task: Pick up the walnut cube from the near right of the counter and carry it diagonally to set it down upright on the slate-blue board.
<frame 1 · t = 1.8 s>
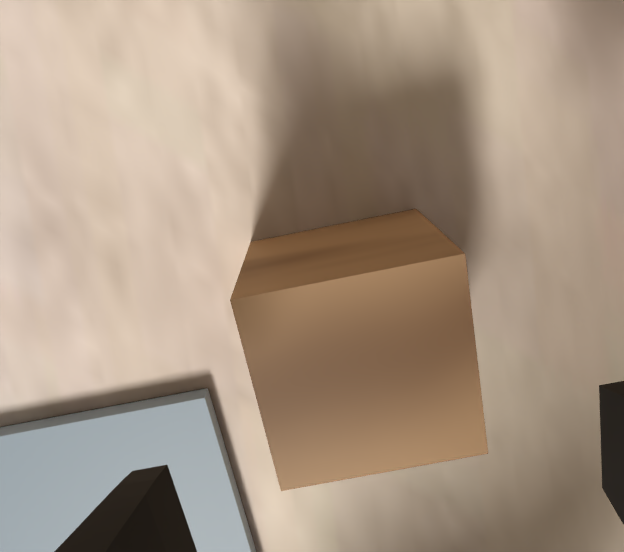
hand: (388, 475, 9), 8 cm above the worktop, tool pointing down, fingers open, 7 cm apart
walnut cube: (347, 301, 17), on the worktop
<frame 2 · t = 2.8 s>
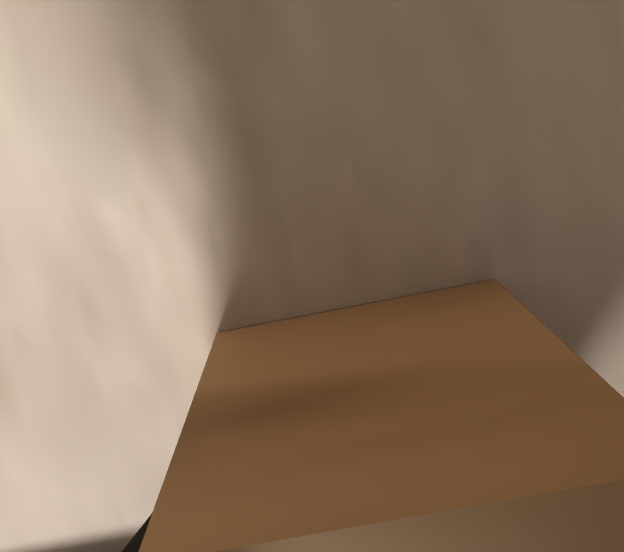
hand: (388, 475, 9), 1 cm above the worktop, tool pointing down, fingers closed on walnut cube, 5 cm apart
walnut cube: (376, 425, 10), on the worktop, touching gripper
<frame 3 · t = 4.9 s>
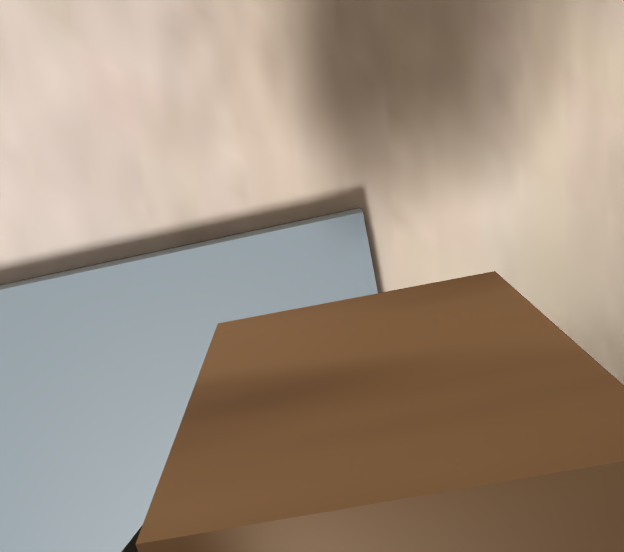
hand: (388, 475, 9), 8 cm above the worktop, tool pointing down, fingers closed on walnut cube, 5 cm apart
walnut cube: (376, 416, 10), point 7 cm above the worktop, touching gripper
slate board: (178, 475, 19), on the worktop
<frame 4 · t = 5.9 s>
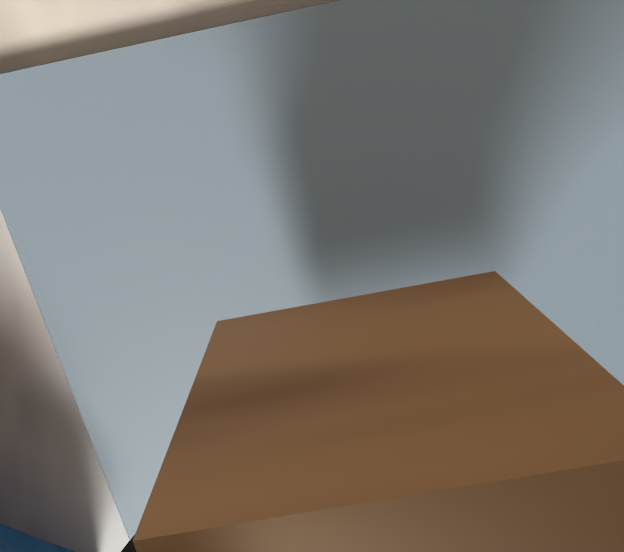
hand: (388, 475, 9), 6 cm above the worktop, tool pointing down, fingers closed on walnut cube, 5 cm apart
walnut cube: (375, 415, 10), point 5 cm above the worktop, touching gripper
slate board: (354, 324, 15), on the worktop
when the fingers open (4 cm above the worktop, at t = 6.8 s): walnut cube drops 2 cm, resting on slate board.
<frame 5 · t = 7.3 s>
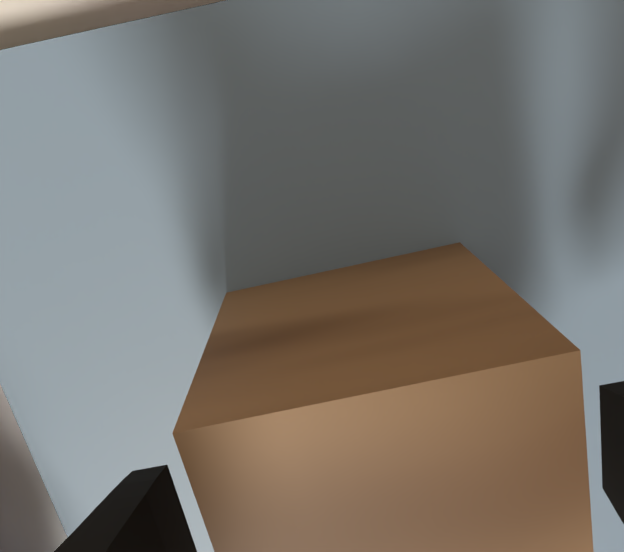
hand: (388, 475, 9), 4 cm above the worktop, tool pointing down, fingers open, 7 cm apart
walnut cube: (363, 371, 12), point 1 cm above the worktop, touching slate board
slate board: (362, 364, 13), on the worktop
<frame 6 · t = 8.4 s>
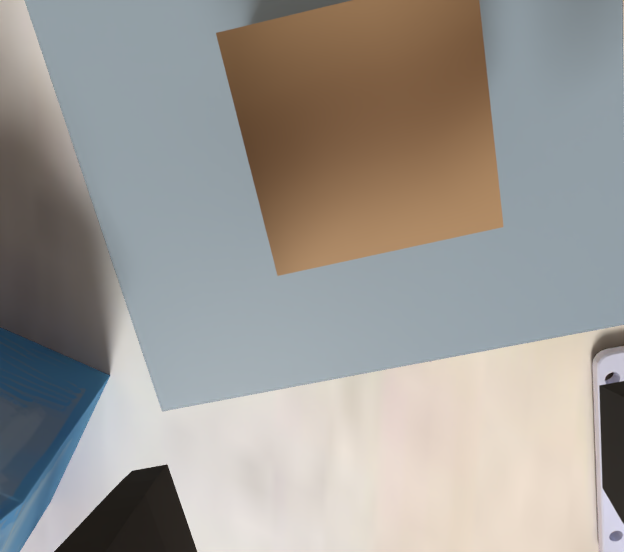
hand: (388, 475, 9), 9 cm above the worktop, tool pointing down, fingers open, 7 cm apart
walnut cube: (347, 124, 16), point 1 cm above the worktop, touching slate board
slate board: (347, 128, 16), on the worktop
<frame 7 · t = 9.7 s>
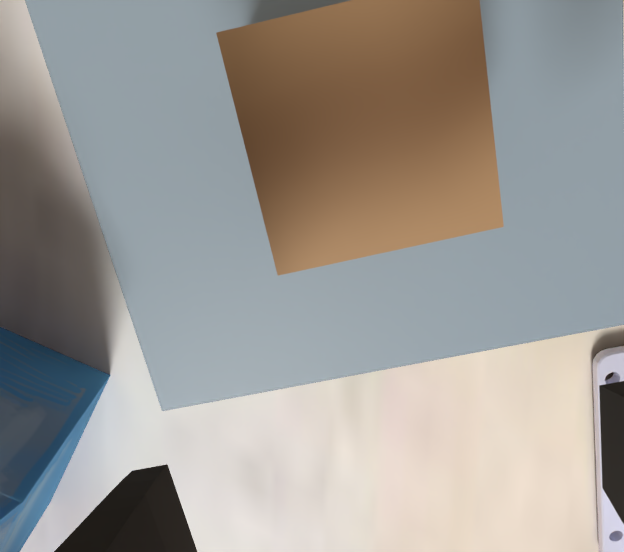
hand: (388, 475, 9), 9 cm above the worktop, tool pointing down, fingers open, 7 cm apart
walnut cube: (347, 124, 16), point 1 cm above the worktop, touching slate board
slate board: (347, 128, 16), on the worktop
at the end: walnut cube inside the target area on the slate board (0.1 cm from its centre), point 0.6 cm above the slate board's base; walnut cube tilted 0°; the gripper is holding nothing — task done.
